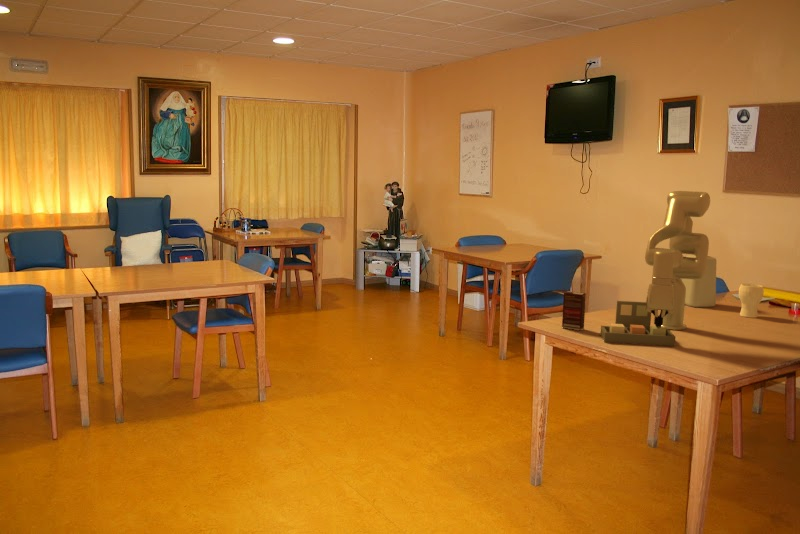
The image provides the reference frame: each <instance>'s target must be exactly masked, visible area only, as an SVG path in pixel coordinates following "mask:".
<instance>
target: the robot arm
mask: <svg viewBox="0 0 800 534" xmlns="http://www.w3.org/2000/svg"><path fill="white" fill-rule="evenodd" d="M666 201H667V207H666V212H665V217H664V220H663V225H662V227H660V228H659V229H657V230H656V231H655V232H654V233H653V234H651V236H650V238H649V240H648V242H647V246H646V249H645V255H644V260H645V262H646V263H645V264H647V265H649V266H650V267H652V277H651V279H652V280H651V283H649V284H648V287H647V291H646V298H645V300H646V301H645V302H646V309H645V310H646V311H647V312H651V315H653V316H654V320H653V321H654V322H653V325H654V326H656V327H661V326H663V327H664V328H665V329H668V330H672V331H673V330H675V331H677V330H678V331H682V330H686V329H687V328H688V326H687V324H685V323H684V319H685V318H684V317H685V297H686V287H685V285H684V283H683V282H682V279H692V280H701V279H703V278H704V276H705V272H706V265H707V257H708V256H709V247H710V246H709V245H710V242H709V241H710V240H709V238H708V236H707V234H704V233H699V232H693V225H694V223H693V219H692V217H693V218H702V217H703V216H705V214H706V212H707V211H708V210H709V207H710V206H711V196H710V194H709V193H708V192H705V191H693V190H692V191H691V190H690V191H689V190H687V191H686V190H677V191H676V190H675V191H674V190H673V191H671V192H669V193H668V194H667V197H666ZM668 239H669V245H668V247H669V248H664V247H656V246H658V244H659V243H661V242H663V241H665V240H668ZM684 255H695V256H696V258H692V257H686V256H684ZM659 311H660V313H659Z"/></svg>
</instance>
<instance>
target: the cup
mask: <svg viewBox="0 0 800 534" xmlns="http://www.w3.org/2000/svg"><path fill="white" fill-rule="evenodd" d="M764 293H765V292H764V285H761V284H754V283H741V284H740V285H739V288H738V297H739V300H740V302H741V303H740V304H741V309H740V312H739V315H740V316H741V317H743V318H752V319H754V318H758V317H759V314H758V309H759V308H758V306H759V304H760V303H761V301H762V300H763V297H764Z"/></svg>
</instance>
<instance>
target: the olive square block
mask: <svg viewBox="0 0 800 534" xmlns="http://www.w3.org/2000/svg"><path fill="white" fill-rule="evenodd" d="M650 334H651V335H666V329H665V328H664V327H663V326H661V327H656V326H655V325H650Z"/></svg>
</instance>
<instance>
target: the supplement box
mask: <svg viewBox="0 0 800 534" xmlns="http://www.w3.org/2000/svg"><path fill="white" fill-rule="evenodd" d="M586 295H587V293H586V292H579V291H569V290H567V291H564V292H563V299H562V301H563V303H562V318H561V319H562V322H561V328H562V327H563V328H562V329H565V328H568V329H567V330H572V329H574V330H575V331H579V330H580V331H583V330H584V329H585V317H586V316H585V315H586V298H587V297H586ZM582 329H583V330H582Z"/></svg>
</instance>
